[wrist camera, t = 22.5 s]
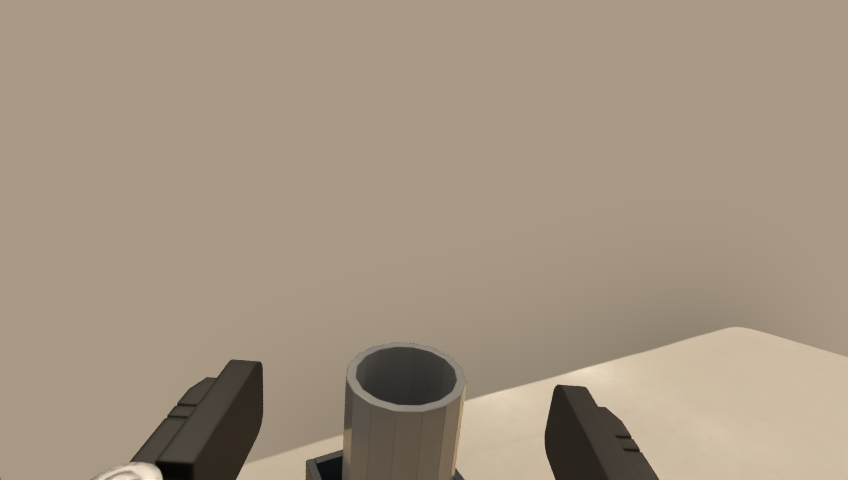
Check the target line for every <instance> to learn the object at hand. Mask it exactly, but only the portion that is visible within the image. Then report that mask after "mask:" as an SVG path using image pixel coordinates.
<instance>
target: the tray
mask: <svg viewBox="0 0 848 480" xmlns="http://www.w3.org/2000/svg"><path fill="white" fill-rule="evenodd" d="M342 465H343V450H340V451H337V452H334V453H330V454H327V455H324V456H320V457H317V458H315V459H310V460H307V461H306V480H342ZM454 480H464V479H463V477H462V476H461V475H460V473H459V472H458V471H457V469H456V468H455V474H454Z"/></svg>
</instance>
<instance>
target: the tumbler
mask: <svg viewBox="0 0 848 480" xmlns="http://www.w3.org/2000/svg"><path fill="white" fill-rule="evenodd" d="M465 390H466V378H465V375H464V371H463V369H462V367H461V366H460V365H459V364H458V363H457V362H456V361H455V360H454V359H453V358H452V357H451V356H449V355H447V354H445V353H443V352H441V351H439V350H437V349H435V348H432V347H428V346H424V345H420V344H415V343H389V344H383V345H378V346H373V347H371V348H369V349H367V350H365V351H363V352H361V353H359V354H358V355H357V356H356V357H355V358H354V359H353V360H352V361H351V362H350V363H349V365H348V369H347V376H346V392H345V416H344V440H343V465H342V480H454V474H455V467H456V459H457V451H458V444H459V436H460V428H461V421H462V413H463V405H464V398H465Z"/></svg>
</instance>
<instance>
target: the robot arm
mask: <svg viewBox="0 0 848 480" xmlns="http://www.w3.org/2000/svg"><path fill="white" fill-rule="evenodd" d="M262 417H263V368H262V364H261V362H258V361H245V360H230V361H229V362H228V364H227V365H226V366H225V368H224V369H223V370H222V372H221V373H220V375H219V376H218V377H217V378H209V377H207V378H205V379H204V380H202V381H201V382H199V383H198V384H196V385H194V386H193V387H191V388H190V389H189V390H188V391H187V392H186V393H185V395H184V396H183V397H182V398H181V399H180V401H179V402H178V404H177V406H175V407H174V408H173V409H172V411H171V412H170V413H169V414H168V417H167V418H165V419H164V420H163V422H162V423H161V424H160V425H159V426H158V428H157V429H156V430H155V432H154V433H153V434H152V435H151V436H150V437H149V439H148V440H147V441H146V442H145V444H144V445H143V446H142V447H141V448H140V450H139V451H138V452H137V453H136V455H135V456H134V457H133V458H132V460H131V461H130V462H129V463H124V464H121V465H117V466H115V467H112V468H109V469H107V470H105V471H103V472H102V473H100V474H98V475H97V476H95V477H94V478H93V479H91V480H236V478H237V476H238V474H239V472H240V470H241V468H242V466H243V464H244V462H245V460H246V458H247V456H248V454H249V452H250V450H251V448H252V446H253V444H254V442H255V440H256V438H257V436H258V433H259V430H260V427H261V423H262ZM545 449H546V454H547V458H548V460H549V463H550V466H551V469H552V471H553V474H554V477H555V479H556V480H659V479H658V477H657V475H656V474H655V472H654V471H653V469H652V468H651V466H650V465H649V463H648V461H647V460H646V458H645V457H644V455H643V454H642V453H640V449H639V447H638V446H637V444H636V443H635V441H634V440H633V439H631V435H630V434H629V432H628V430H627V429H626V427H625V426H624V424H623V423H622V421H621V420H620V419H618V418H617V417H616V416H615V415H614V414H613V413H611V412H610V411H609V410H608V409H607V408H606V407H598V406H597V404H596V403H595V401H594V399H593V398H592V396H591V394H590V393H589V391H588V389H587V388H586V387H581V386H568V385H557V386H556V387H555V389H554V392H553V396H552V401H551V406H550V411H549V415H548V420H547V425H546V430H545Z"/></svg>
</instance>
